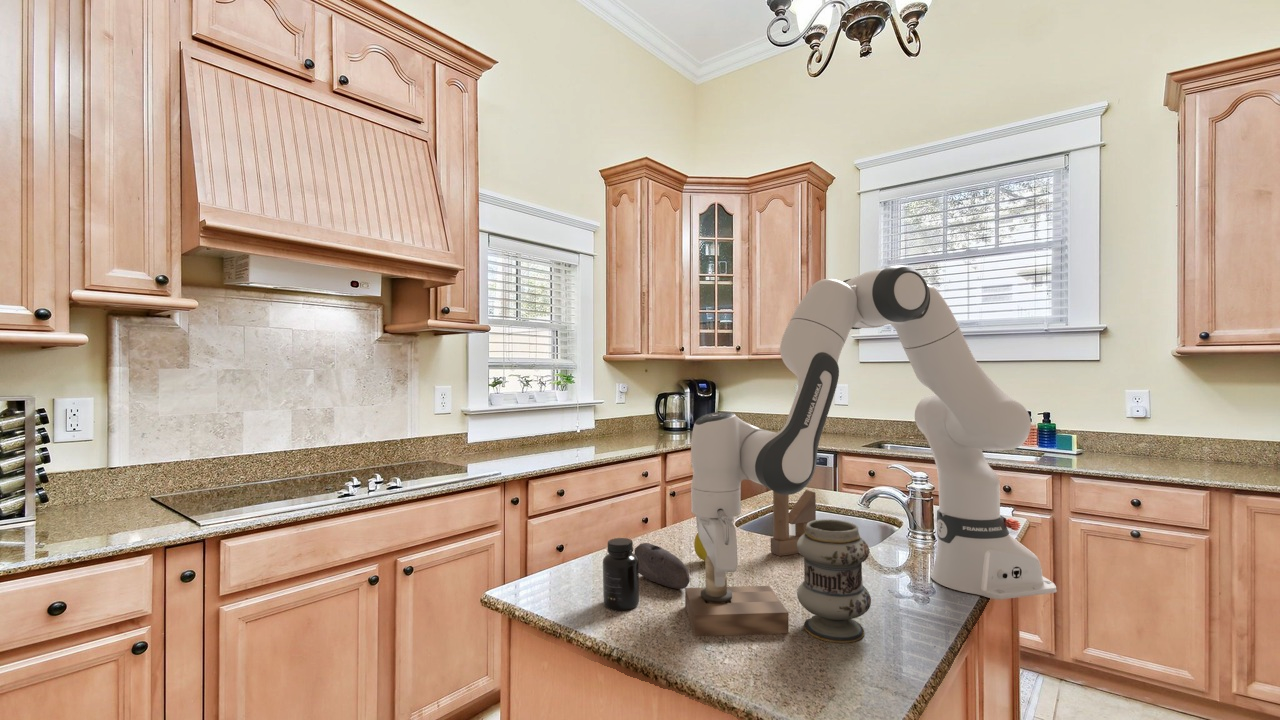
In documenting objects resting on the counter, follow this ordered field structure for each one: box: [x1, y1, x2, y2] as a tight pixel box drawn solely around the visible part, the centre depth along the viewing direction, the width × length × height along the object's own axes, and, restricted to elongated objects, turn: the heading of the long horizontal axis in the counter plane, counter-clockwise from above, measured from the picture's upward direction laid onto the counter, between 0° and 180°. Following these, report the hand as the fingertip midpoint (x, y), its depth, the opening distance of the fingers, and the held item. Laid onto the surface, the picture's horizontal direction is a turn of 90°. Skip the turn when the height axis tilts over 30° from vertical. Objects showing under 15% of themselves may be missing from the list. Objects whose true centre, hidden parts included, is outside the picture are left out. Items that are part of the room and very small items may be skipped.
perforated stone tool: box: [633, 542, 691, 590], centre depth 124 cm, size 15×5×7 cm, turn 38°
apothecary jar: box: [796, 518, 872, 644], centre depth 102 cm, size 12×12×18 cm
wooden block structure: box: [770, 489, 817, 557], centre depth 144 cm, size 4×11×18 cm, turn 112°
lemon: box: [693, 532, 707, 562], centre depth 137 cm, size 6×6×8 cm
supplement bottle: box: [602, 537, 640, 612], centre depth 114 cm, size 7×7×12 cm
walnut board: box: [684, 585, 790, 637], centre depth 107 cm, size 16×12×4 cm
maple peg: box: [701, 556, 732, 603], centre depth 107 cm, size 6×6×10 cm
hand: (716, 579), depth 108 cm, fingers closed on maple peg, 4 cm apart
